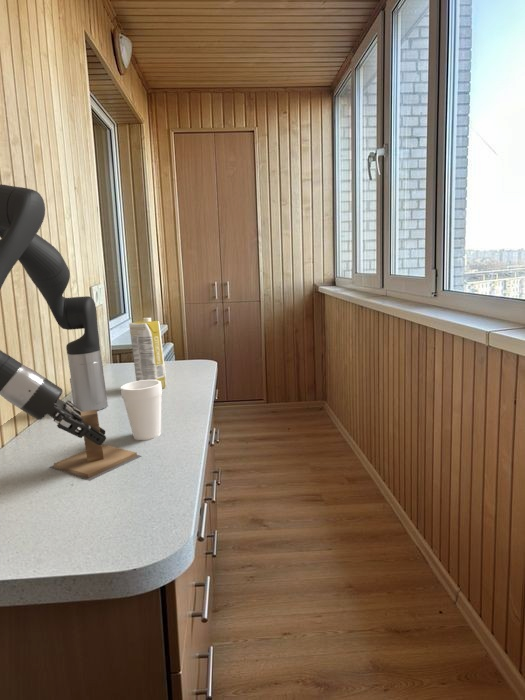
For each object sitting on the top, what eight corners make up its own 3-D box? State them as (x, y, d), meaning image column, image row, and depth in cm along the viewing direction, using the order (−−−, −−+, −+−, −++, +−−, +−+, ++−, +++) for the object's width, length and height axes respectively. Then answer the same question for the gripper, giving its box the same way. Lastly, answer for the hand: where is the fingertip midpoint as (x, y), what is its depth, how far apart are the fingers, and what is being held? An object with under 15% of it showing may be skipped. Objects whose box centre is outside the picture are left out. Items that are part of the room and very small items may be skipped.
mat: (49, 468, 101) (49, 467, 101) (101, 447, 112) (101, 445, 112) (90, 482, 93) (89, 480, 93) (142, 457, 104) (141, 455, 104)
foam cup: (157, 444, 111) (150, 389, 109) (120, 444, 113) (113, 390, 111) (173, 429, 120) (167, 379, 118) (138, 429, 122) (132, 380, 120)
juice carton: (170, 386, 164) (162, 316, 159) (153, 393, 157) (144, 319, 153) (150, 384, 169) (142, 316, 164) (133, 390, 162) (124, 319, 158)
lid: (54, 467, 101) (46, 417, 99) (102, 447, 111) (95, 401, 109) (88, 478, 94) (81, 425, 92) (137, 456, 104) (130, 407, 102)
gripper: (40, 384, 90) (116, 434, 96) (46, 370, 103) (113, 415, 109) (13, 416, 89) (92, 465, 95) (23, 398, 102) (91, 442, 109)
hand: (102, 438), depth 102 cm, fingers closed on lid, 3 cm apart
